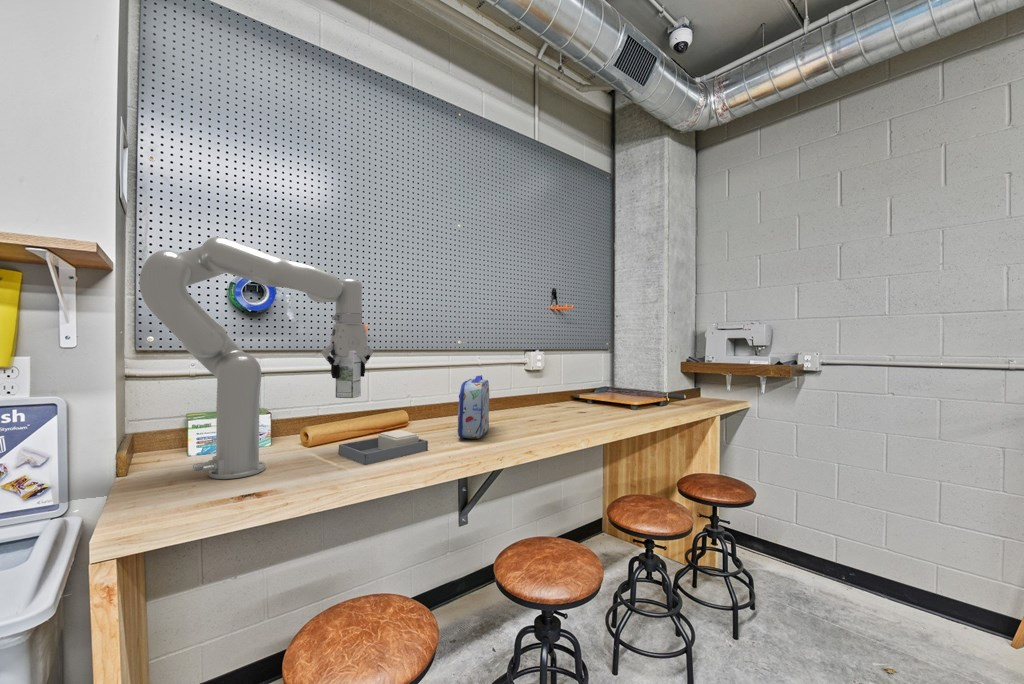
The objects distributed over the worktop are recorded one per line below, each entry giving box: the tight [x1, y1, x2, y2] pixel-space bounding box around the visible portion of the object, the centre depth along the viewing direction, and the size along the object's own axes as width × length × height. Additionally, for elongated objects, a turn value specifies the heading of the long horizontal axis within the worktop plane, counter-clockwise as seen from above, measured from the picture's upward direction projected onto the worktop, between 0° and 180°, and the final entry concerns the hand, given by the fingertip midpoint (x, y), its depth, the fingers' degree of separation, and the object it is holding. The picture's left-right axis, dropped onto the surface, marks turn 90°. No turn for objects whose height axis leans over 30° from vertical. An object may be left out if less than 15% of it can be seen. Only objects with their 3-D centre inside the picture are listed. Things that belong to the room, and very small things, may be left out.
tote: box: [338, 437, 429, 466], centre depth 129 cm, size 21×15×4 cm
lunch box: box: [457, 374, 490, 439], centre depth 160 cm, size 28×10×22 cm, turn 179°
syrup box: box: [335, 350, 362, 399], centre depth 130 cm, size 6×6×14 cm
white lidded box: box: [377, 429, 420, 450], centre depth 133 cm, size 8×10×5 cm
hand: (348, 376), depth 130 cm, fingers closed on syrup box, 7 cm apart
